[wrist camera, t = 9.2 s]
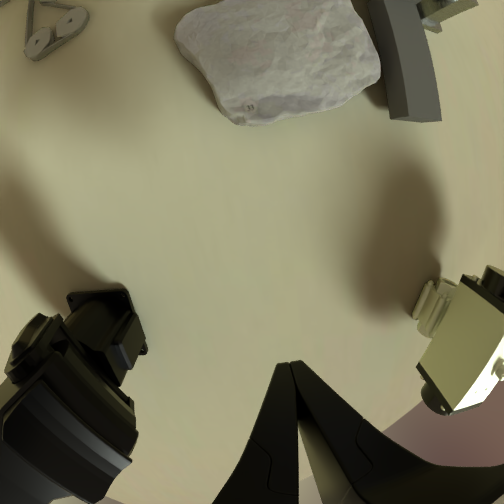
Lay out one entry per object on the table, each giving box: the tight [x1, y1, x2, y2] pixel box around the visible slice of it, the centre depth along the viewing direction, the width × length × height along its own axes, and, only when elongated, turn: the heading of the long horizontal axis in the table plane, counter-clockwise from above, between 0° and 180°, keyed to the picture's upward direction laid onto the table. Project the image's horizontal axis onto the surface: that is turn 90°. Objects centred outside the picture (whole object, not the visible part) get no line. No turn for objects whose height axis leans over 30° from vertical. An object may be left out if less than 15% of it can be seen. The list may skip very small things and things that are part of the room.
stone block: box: [174, 0, 381, 127], centre depth 14 cm, size 12×5×10 cm
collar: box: [367, 0, 442, 123], centre depth 11 cm, size 3×14×5 cm, turn 6°
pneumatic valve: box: [412, 265, 504, 416], centre depth 17 cm, size 6×12×12 cm, turn 168°
